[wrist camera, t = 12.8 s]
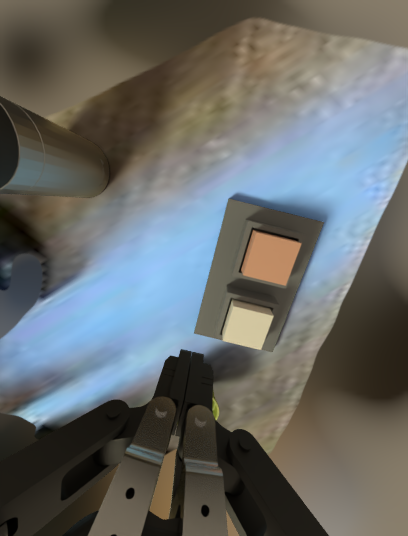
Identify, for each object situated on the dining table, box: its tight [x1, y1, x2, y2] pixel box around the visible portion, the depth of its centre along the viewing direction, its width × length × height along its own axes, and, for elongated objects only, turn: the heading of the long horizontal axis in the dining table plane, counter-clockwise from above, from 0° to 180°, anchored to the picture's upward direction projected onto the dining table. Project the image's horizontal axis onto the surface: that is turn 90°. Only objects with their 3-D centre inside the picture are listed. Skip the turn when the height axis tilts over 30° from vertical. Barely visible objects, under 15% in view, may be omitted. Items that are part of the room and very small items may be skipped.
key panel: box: [194, 199, 324, 352], centre depth 38 cm, size 16×26×5 cm, turn 167°
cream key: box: [222, 298, 274, 350], centre depth 36 cm, size 7×7×3 cm
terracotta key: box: [241, 230, 302, 286], centre depth 33 cm, size 7×7×3 cm
